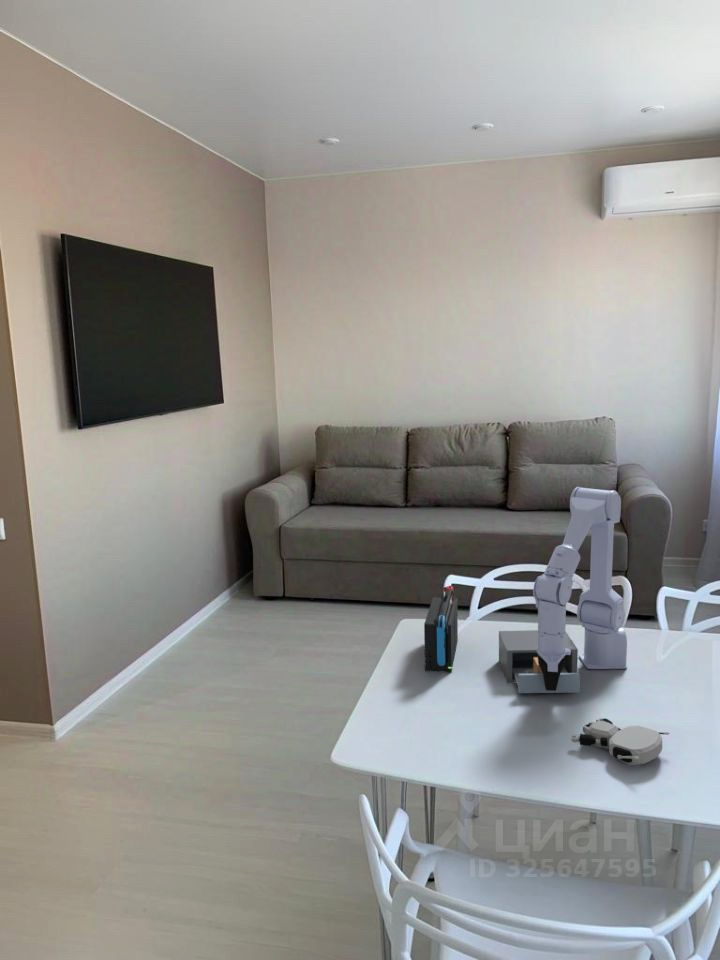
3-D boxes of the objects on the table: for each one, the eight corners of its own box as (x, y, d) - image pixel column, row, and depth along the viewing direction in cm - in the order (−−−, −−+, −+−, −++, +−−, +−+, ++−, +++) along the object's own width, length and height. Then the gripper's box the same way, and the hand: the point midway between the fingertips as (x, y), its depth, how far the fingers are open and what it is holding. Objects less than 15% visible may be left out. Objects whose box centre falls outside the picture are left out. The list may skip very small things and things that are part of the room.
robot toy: (567, 753, 141) (642, 779, 130) (566, 731, 141) (641, 755, 130) (600, 730, 150) (673, 753, 138) (599, 709, 149) (672, 730, 138)
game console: (450, 680, 172) (449, 620, 170) (422, 678, 173) (421, 619, 171) (458, 635, 199) (458, 583, 197) (435, 634, 200) (434, 582, 198)
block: (552, 677, 168) (552, 656, 168) (557, 686, 164) (557, 664, 163) (533, 677, 169) (533, 657, 168) (537, 686, 164) (537, 665, 163)
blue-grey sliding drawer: (566, 670, 174) (566, 653, 173) (579, 692, 162) (579, 674, 162) (509, 671, 174) (509, 654, 173) (518, 693, 163) (518, 675, 162)
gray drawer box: (564, 660, 181) (564, 629, 180) (577, 681, 170) (577, 649, 168) (498, 661, 182) (498, 631, 181) (507, 682, 170) (507, 650, 169)
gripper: (573, 643, 151) (572, 706, 153) (568, 618, 165) (567, 676, 167) (537, 642, 152) (537, 703, 154) (536, 617, 166) (535, 674, 168)
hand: (550, 689), depth 161 cm, fingers closed
